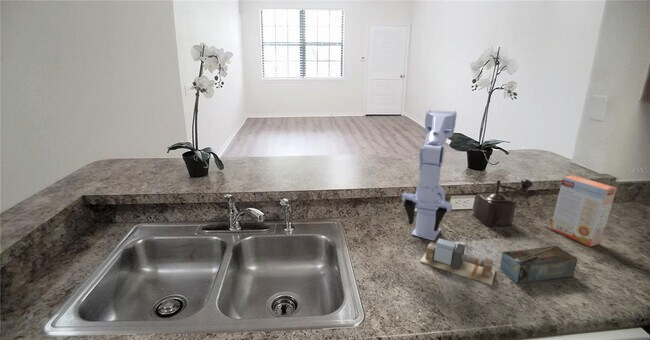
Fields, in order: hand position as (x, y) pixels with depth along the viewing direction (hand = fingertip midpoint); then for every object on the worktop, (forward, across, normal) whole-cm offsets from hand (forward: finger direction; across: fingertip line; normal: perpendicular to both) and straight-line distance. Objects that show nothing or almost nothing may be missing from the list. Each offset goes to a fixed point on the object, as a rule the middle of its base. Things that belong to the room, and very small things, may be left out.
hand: (423, 226), depth 103 cm
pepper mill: (+11, +18, +42) cm, 47 cm away
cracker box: (+11, +42, +44) cm, 61 cm away
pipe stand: (+10, +11, 0) cm, 15 cm away
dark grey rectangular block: (+10, +11, 0) cm, 15 cm away
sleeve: (+9, +7, 0) cm, 12 cm away
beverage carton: (+11, +31, +10) cm, 35 cm away
